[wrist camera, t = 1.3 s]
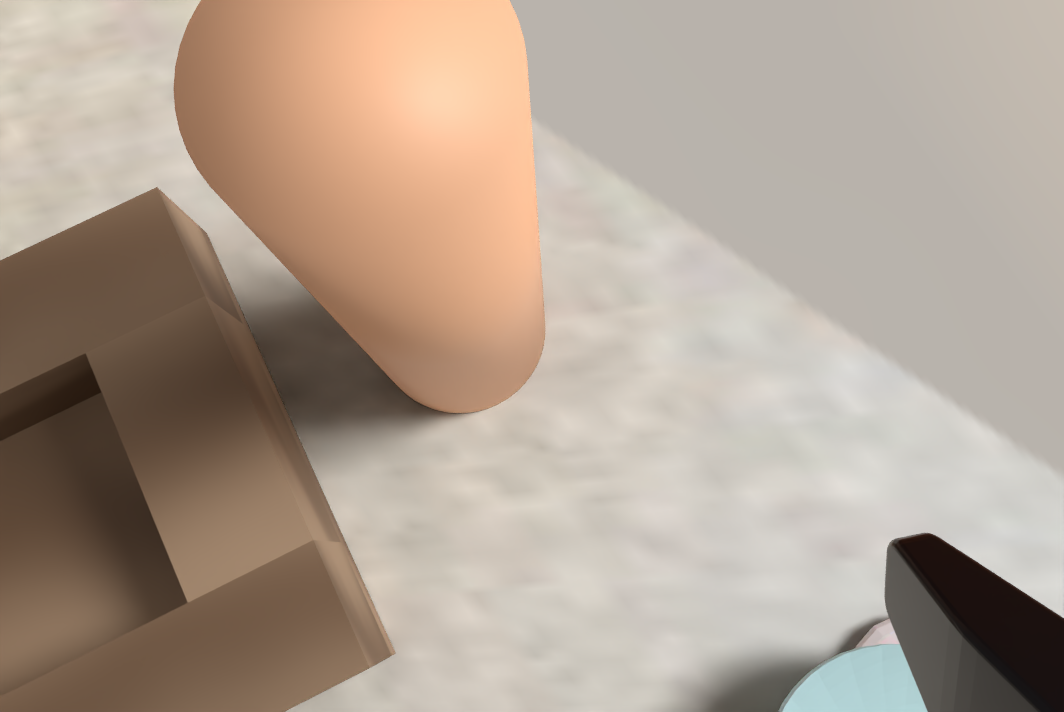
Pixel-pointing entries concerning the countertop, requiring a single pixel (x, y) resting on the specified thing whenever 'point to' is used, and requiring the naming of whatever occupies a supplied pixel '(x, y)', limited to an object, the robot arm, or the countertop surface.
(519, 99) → the peg
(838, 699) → the pacifier
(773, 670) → the countertop surface
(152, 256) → the socket block
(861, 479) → the countertop surface
